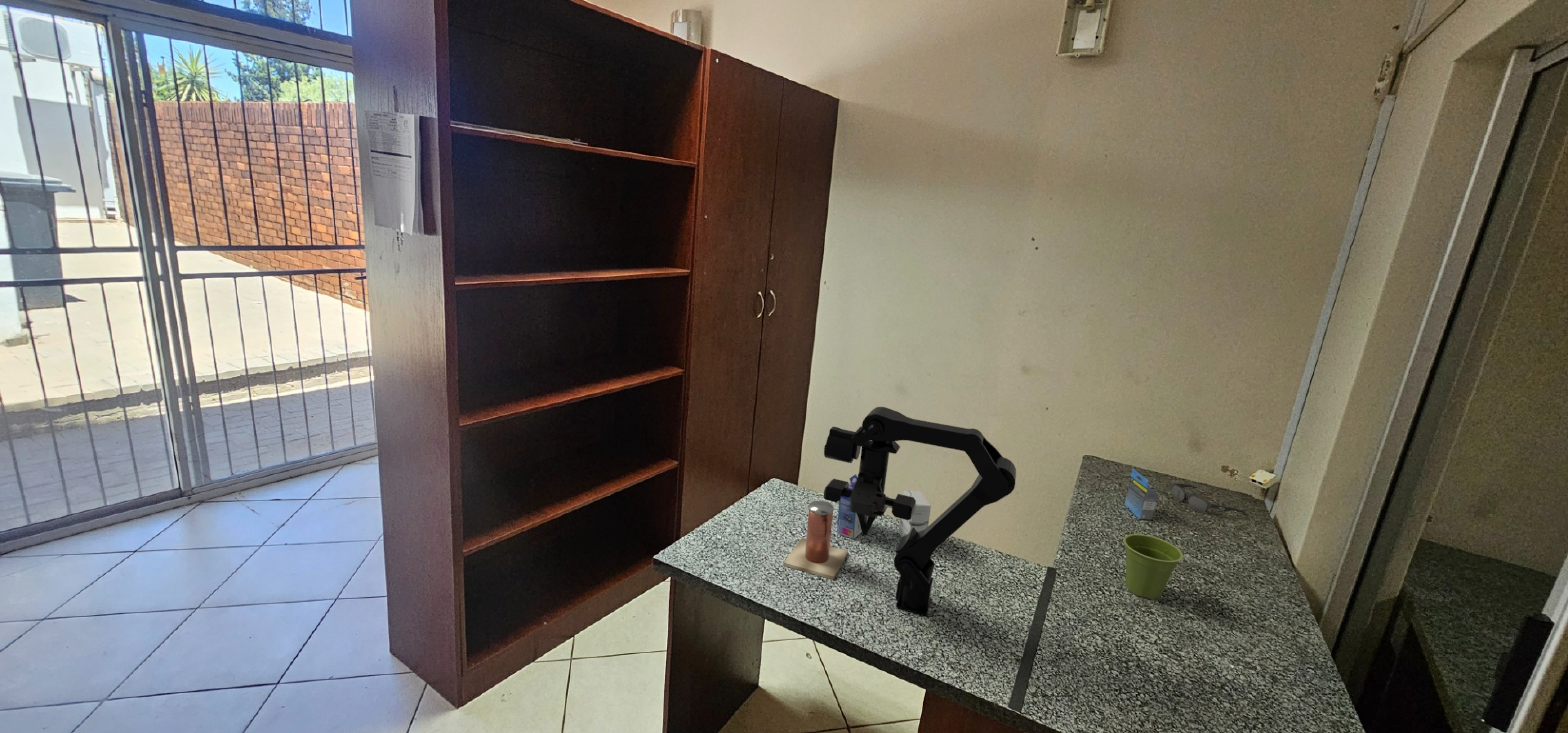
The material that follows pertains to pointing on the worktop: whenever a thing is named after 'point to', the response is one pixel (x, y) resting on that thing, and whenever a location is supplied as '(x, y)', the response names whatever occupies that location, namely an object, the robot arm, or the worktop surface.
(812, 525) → the tin
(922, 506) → the ink box
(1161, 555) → the plant pot
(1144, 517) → the label tape cartridge
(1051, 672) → the worktop surface
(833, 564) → the coaster
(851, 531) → the ink cartridge box
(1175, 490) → the sunglasses
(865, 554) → the worktop surface
